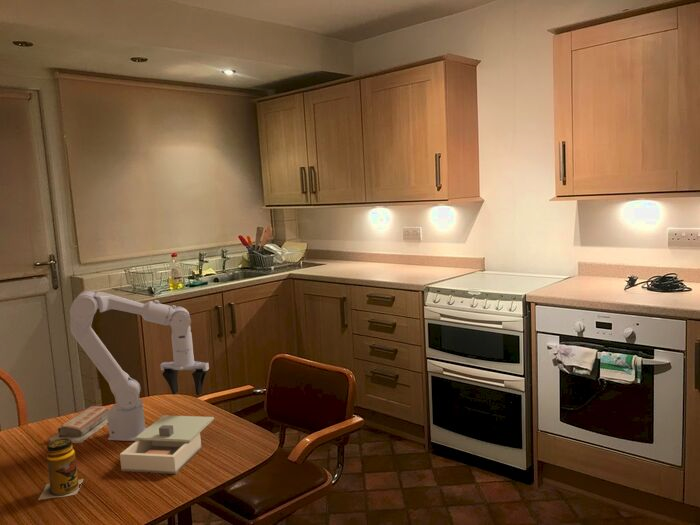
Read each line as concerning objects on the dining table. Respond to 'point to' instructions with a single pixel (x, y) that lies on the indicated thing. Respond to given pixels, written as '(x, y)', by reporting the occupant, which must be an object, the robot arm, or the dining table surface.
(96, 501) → the dining table surface
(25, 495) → the dining table surface
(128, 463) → the carton
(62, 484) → the condiment
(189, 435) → the lid
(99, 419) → the packaged product
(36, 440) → the dining table surface
